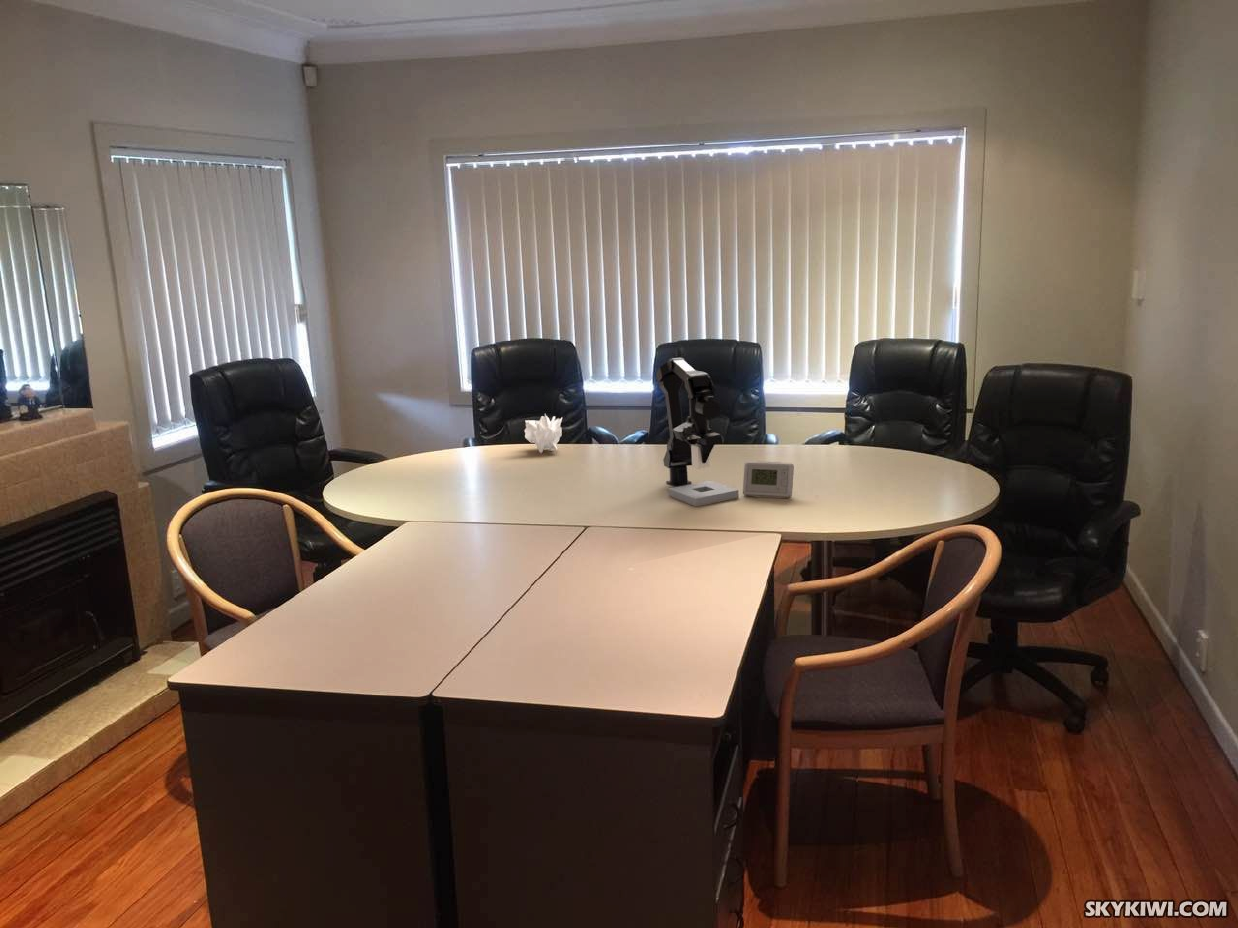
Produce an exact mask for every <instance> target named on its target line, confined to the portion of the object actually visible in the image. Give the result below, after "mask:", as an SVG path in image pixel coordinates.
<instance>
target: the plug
mask: <svg viewBox="0 0 1238 928" xmlns="http://www.w3.org/2000/svg"><path fill="white" fill-rule="evenodd" d="M697 443H701V441H700V438H698V439H697ZM691 452H692V465H691V467H692V468H696V469H703V468H709V467H710V456H709V457H708V459H707V461H706V463H702V458H701V450H700V447H699V446H698V445H697V444H693V445H691Z"/></svg>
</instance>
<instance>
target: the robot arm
mask: <svg viewBox="0 0 1238 928" xmlns="http://www.w3.org/2000/svg"><path fill="white" fill-rule="evenodd" d="M655 377H656V381H657V382H658V387H659V389H660V390H661V392H663V394H664V397H665V405H666V411H667V414H666V415H667V420H668V428H669V429H668V430H669V436H670V437H669V439H668V441H667V445H666V452H665V454H664V457H663V465H664V467H666V468H667V469H669V480H666V482H665V483H666V484H668V485H672V486H674V487H680V486H685V485H690V484H693V483H692V481H690V480H688V466H692V452H691V445H693V444H697V445H698V446H699V447H700V450H701V458H702V463H706V461H707V459H708V457H709V458H710V454H711V453H712V450H713V448H714V446H715V445H719V444H723V443H724V436H723V435H722V434H721V433H717V432H712V429H711V428H709V421H711V420H712V419H713V420H714V419H715V418H717V417H718V416H719V414H720V411H721V408H720V405H719V403H718V402H717V401H716V400H714V396H716V388H715V386H714V383H713V381H712V379H711V377H710V376H709V374H708V373H707V372H704V371H699V370H696V369H694V368H693V367H692V366H691V365H690V364H688V362H687V361H686V360H685V358H683V357H674V358H673V357H671V358H670V359H668V360H667V362H666V363H664V364H663V365H660V366H659V368H658V369H657V371H656V374H655ZM683 383H684V384H683ZM683 385H684V388H685V390H686V393H687V394H688V395H687V398H688V400H689V401H688V403H689V416H687V417H686V422H683V414H682V412H683V411H682V407H681V405H682V404H681V399H680V391H681V389H682V387H683ZM698 438H700V441H701V443H697V439H698Z"/></svg>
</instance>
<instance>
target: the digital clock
mask: <svg viewBox="0 0 1238 928" xmlns="http://www.w3.org/2000/svg"><path fill="white" fill-rule="evenodd" d="M743 467H744V469H743V480H742V482H743V483H742V495H743V496H748V497H753V498H771V499H781V498H782V499H783V498H785V499H790V498H792V497H793V486H794V474H795V473H794V471H795V469H794V468H795V466H794V464H793V463H791V462H780V461H778V462H777V461H760V460H759V461H758V460H757V461H745V463H744V466H743Z"/></svg>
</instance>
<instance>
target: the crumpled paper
mask: <svg viewBox="0 0 1238 928" xmlns="http://www.w3.org/2000/svg"><path fill="white" fill-rule="evenodd" d="M546 414H547V413H544V416H543V415H542V416H540V419H539V420H524V421H525V427H526V428H524V433H525V434H524V437H525V439H526V440H527V441H528V442H530V444H535V446H537V447H536V448H537V450H538V452H539V453H540V454H542V453H543V451H544V450H545V449H549V452H550V451H551V452H552V451H554V450H555V451H558V450H559V449H558V447H557V444H558V442H559V441H560V438H561V437H562V433H563V432H562V430H563V428H562V427H561V423H562V420H563V417H561V418H559V417H558V418H556V416H555V415H554V416H552V418H551V420H550V418H549V417H548V415H546Z"/></svg>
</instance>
